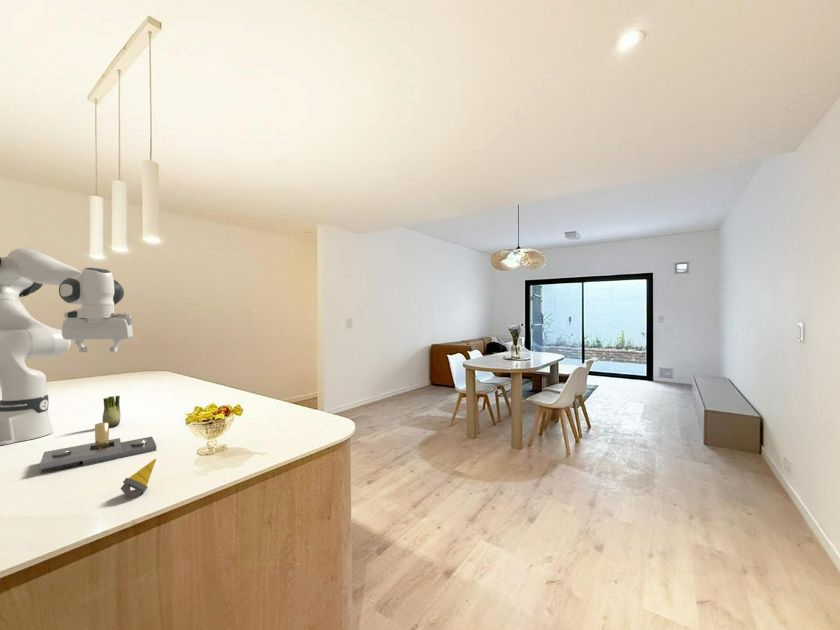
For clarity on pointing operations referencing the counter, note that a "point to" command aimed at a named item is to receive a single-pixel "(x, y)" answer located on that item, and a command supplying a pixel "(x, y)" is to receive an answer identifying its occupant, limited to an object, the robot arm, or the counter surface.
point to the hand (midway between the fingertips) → (98, 352)
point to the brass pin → (101, 435)
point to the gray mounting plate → (94, 453)
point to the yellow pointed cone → (138, 481)
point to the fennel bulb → (111, 411)
